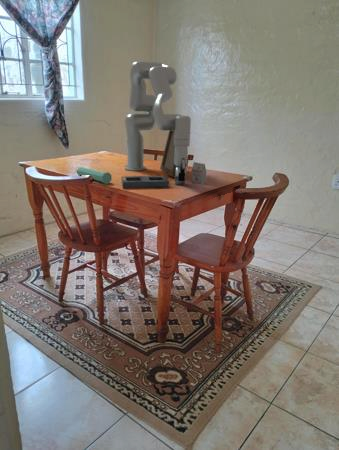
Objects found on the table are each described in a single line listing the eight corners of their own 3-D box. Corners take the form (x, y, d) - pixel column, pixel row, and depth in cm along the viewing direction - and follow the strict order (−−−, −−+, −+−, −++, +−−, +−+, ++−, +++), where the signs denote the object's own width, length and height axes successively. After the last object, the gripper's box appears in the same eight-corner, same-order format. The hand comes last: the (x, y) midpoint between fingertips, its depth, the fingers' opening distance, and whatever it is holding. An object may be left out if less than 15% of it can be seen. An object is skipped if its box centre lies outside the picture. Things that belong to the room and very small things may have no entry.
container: (73, 174, 188) (100, 182, 171) (76, 164, 187) (103, 170, 171) (82, 177, 192) (110, 185, 176) (85, 167, 192) (113, 173, 175)
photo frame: (171, 178, 190) (172, 130, 181) (160, 170, 209) (160, 126, 200) (197, 176, 194) (199, 130, 185) (183, 169, 213) (185, 126, 205)
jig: (121, 182, 177) (121, 176, 176) (164, 181, 181) (164, 175, 180) (122, 188, 166) (122, 181, 165) (168, 187, 170) (169, 180, 169)
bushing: (174, 182, 179) (174, 166, 176) (183, 182, 180) (184, 166, 177) (176, 184, 174) (176, 168, 171) (186, 184, 175) (186, 168, 172)
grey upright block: (195, 180, 185) (196, 161, 181) (205, 183, 181) (206, 163, 177) (190, 182, 182) (191, 162, 179) (201, 184, 178) (202, 164, 175)
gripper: (170, 140, 177) (169, 175, 183) (177, 145, 161) (176, 183, 168) (185, 140, 178) (183, 175, 185) (193, 145, 163) (191, 183, 169)
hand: (180, 179), depth 176 cm, fingers closed on bushing, 5 cm apart
